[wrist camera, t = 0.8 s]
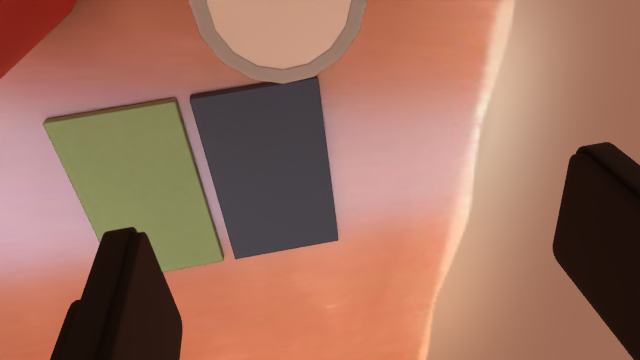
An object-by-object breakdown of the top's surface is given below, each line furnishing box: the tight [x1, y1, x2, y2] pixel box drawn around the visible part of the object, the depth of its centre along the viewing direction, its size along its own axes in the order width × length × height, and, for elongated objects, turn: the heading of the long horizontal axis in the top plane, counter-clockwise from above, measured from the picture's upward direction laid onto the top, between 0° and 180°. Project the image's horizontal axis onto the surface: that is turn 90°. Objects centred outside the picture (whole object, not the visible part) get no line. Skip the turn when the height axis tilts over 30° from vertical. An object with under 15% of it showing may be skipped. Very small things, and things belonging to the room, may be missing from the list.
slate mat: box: [190, 75, 338, 259], centre depth 31 cm, size 12×7×1 cm, turn 7°
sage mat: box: [43, 98, 224, 272], centre depth 31 cm, size 12×7×1 cm, turn 7°
